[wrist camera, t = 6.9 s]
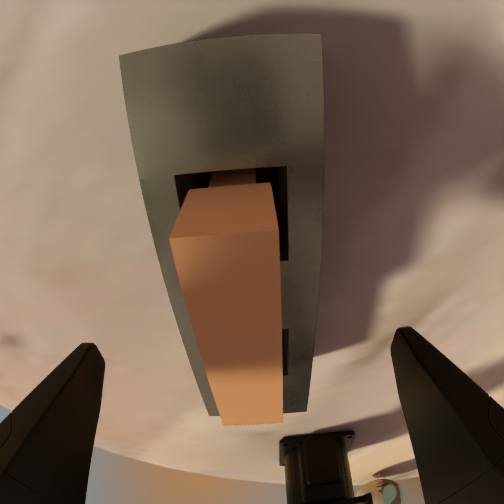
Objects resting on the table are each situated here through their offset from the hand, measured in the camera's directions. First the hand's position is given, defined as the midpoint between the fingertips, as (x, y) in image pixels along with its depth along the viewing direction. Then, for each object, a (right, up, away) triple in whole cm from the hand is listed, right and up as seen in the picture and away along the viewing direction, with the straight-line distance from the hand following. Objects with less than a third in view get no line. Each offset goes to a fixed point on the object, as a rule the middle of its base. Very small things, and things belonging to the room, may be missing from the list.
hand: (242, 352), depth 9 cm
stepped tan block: (0, +3, +5) cm, 5 cm away
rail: (0, +3, +5) cm, 6 cm away
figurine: (+17, -28, +25) cm, 41 cm away
